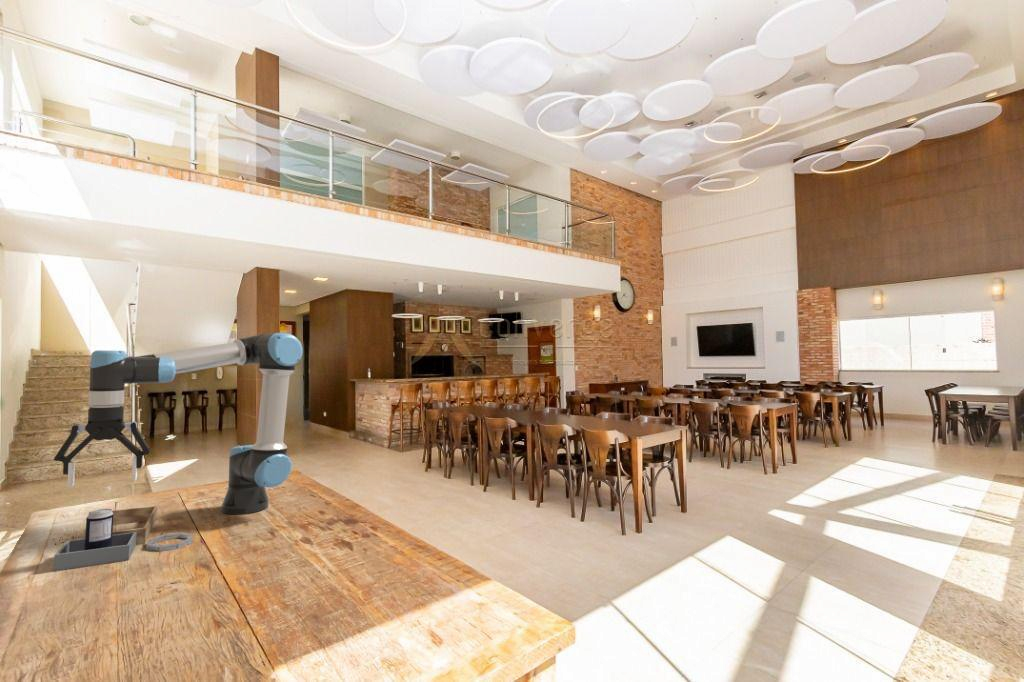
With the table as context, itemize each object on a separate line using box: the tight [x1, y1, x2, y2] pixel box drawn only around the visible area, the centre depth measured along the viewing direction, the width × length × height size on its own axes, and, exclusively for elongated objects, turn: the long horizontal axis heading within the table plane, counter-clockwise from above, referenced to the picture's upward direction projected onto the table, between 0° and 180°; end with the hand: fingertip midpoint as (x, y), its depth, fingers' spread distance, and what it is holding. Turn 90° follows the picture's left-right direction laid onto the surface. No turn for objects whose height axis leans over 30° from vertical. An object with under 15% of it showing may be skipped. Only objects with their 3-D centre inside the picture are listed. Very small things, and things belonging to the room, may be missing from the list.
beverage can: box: [84, 508, 114, 550], centre depth 131 cm, size 6×6×12 cm
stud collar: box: [145, 531, 194, 552], centre depth 142 cm, size 11×11×1 cm
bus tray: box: [53, 532, 137, 572], centre depth 131 cm, size 15×11×4 cm
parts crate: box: [112, 505, 158, 546], centre depth 148 cm, size 13×24×4 cm, turn 30°
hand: (103, 483), depth 132 cm, fingers open, 13 cm apart
